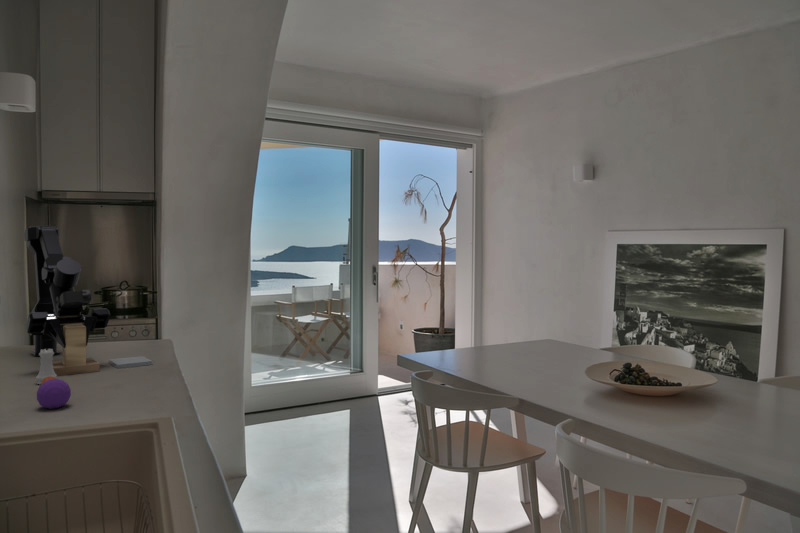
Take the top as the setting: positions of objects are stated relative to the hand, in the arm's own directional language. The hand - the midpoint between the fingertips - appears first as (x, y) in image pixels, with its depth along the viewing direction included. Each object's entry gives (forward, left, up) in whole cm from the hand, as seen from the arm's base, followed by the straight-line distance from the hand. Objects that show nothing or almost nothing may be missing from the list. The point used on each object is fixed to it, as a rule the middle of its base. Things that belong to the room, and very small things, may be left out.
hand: (75, 345), depth 148 cm
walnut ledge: (-4, 0, -7) cm, 8 cm away
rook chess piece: (+8, -8, -7) cm, 13 cm away
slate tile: (-5, +14, -7) cm, 17 cm away
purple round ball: (+25, -9, -8) cm, 28 cm away
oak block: (-1, 0, -5) cm, 5 cm away
